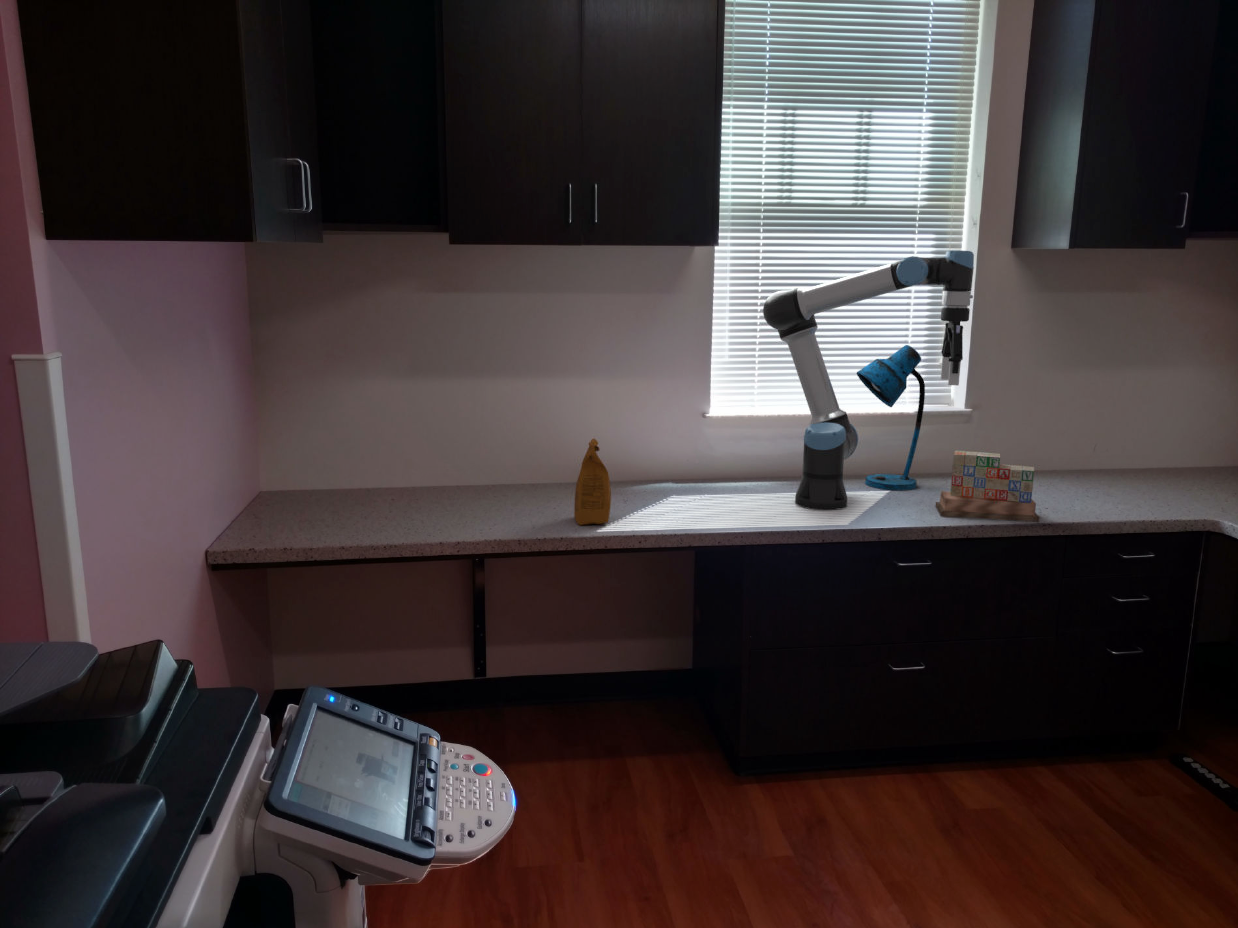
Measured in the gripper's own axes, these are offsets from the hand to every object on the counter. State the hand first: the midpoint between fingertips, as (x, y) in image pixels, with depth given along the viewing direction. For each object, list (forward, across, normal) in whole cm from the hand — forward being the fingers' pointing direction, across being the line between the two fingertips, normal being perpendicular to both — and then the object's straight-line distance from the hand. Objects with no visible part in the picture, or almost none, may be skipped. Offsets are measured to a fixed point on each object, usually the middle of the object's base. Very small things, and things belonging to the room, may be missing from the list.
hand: (949, 382), depth 266 cm
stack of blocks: (+32, -6, -13) cm, 35 cm away
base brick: (+37, -6, -12) cm, 39 cm away
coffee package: (+37, -37, +96) cm, 109 cm away
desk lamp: (+37, +27, +13) cm, 48 cm away
